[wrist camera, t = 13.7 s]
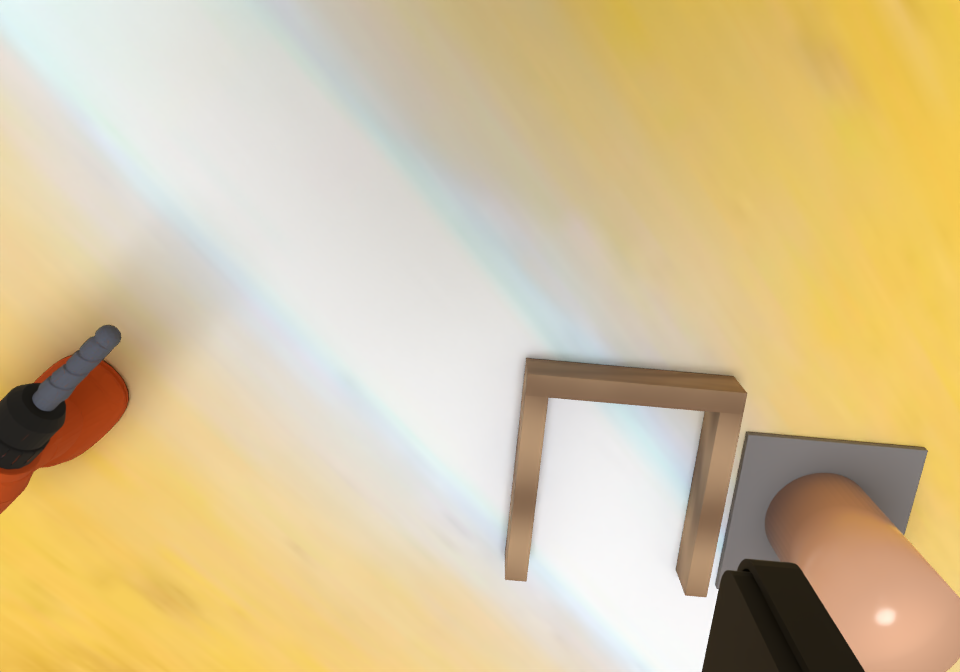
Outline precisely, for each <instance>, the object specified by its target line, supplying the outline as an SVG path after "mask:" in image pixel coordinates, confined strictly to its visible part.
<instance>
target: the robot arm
mask: <svg viewBox="0 0 960 672" xmlns="http://www.w3.org/2000/svg"><path fill="white" fill-rule="evenodd" d="M702 672H865V671H864V669H863V667H862V666H861V664H860V663H859V661H858V659H857V658H856V656H855V655H854V653H853V651H852V650H851V648H850V647H849V645H848V643H847V642H846V640H845V639H844V637H843V635H842V634H841V632H840V631H839V629H838V627H837V626H836V624H835V623H834V621H833V619H832V618H831V616H830V615H829V613H828V611H827V610H826V608H825V607H824V605H823V603H822V602H821V600H820V599H819V597H818V595H817V594H816V592H815V591H814V589H813V587H812V586H811V584H810V583H809V581H808V579H807V578H806V576H805V575H804V573H803V572H802V570H801V569H800V567H799V566H798V565H797V564H795V563H791V562H779V561H768V560H756V559H744V560H742V561H741V563H740V564H739V566H738V569H737V571H734V570H726V571H725V572H724V573H723V575H722V578H721V581H720V586H719V591H718V596H717V601H716V605H715V610H714V615H713V620H712V625H711V630H710V635H709V639H708V644H707V649H706V654H705V659H704V664H703V669H702Z"/></svg>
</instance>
